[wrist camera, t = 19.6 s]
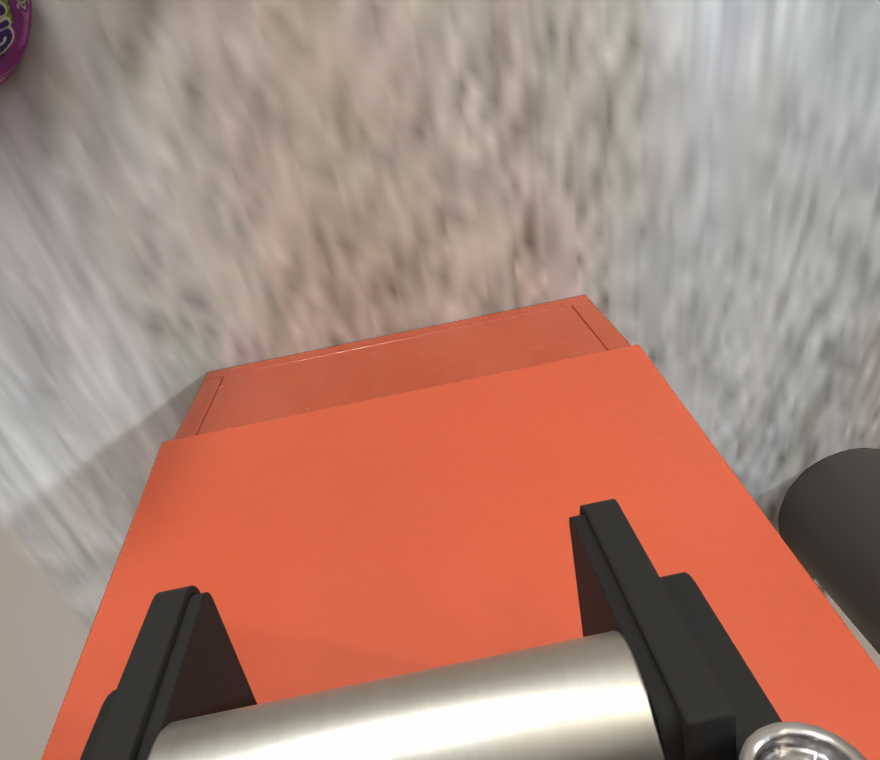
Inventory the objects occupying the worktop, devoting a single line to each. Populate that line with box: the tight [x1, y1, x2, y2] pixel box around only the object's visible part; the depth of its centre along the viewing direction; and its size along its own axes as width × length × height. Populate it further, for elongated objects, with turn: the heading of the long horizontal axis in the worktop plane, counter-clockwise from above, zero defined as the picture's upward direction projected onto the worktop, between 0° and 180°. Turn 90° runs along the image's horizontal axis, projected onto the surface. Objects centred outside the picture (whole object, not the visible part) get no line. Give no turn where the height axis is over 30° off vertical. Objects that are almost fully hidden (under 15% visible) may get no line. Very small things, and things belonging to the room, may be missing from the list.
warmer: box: [173, 295, 631, 440], centre depth 29 cm, size 16×16×6 cm
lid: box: [41, 345, 880, 760], centre depth 14 cm, size 16×16×6 cm
